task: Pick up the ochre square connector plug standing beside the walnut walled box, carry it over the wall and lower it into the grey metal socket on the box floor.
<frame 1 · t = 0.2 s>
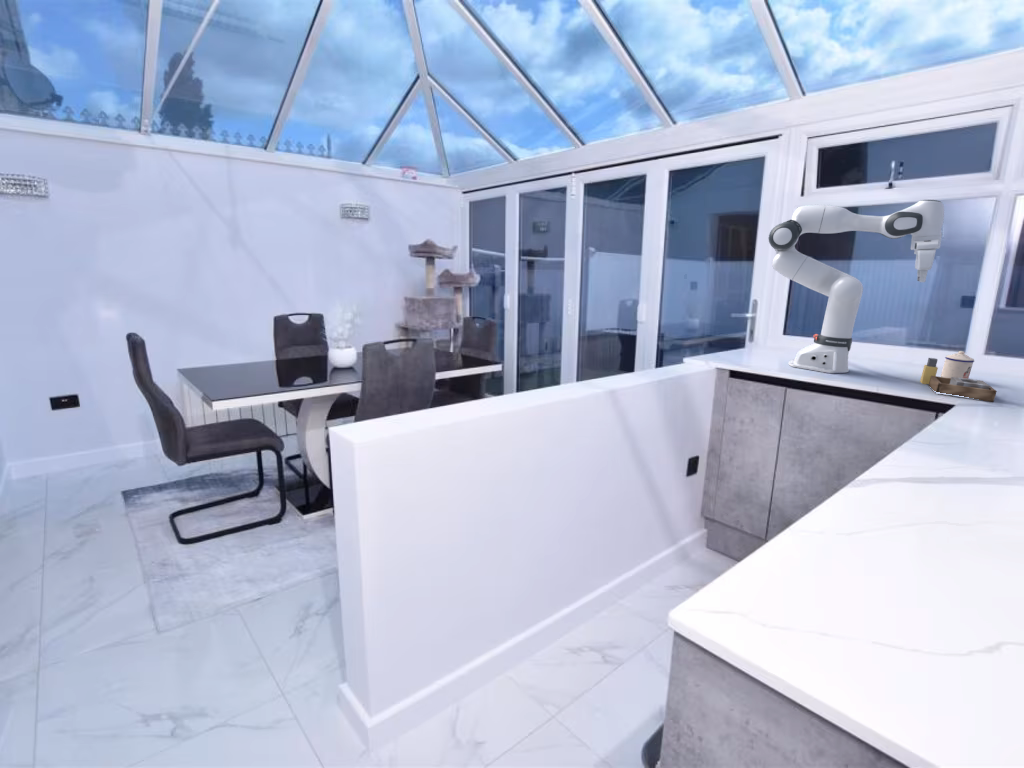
hand: (921, 281, 197), 38 cm above the worktop, tool pointing down, fingers open, 8 cm apart
connector: (926, 383, 201), on the worktop
walled box: (959, 393, 188), on the worktop
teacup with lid: (953, 379, 211), on the worktop
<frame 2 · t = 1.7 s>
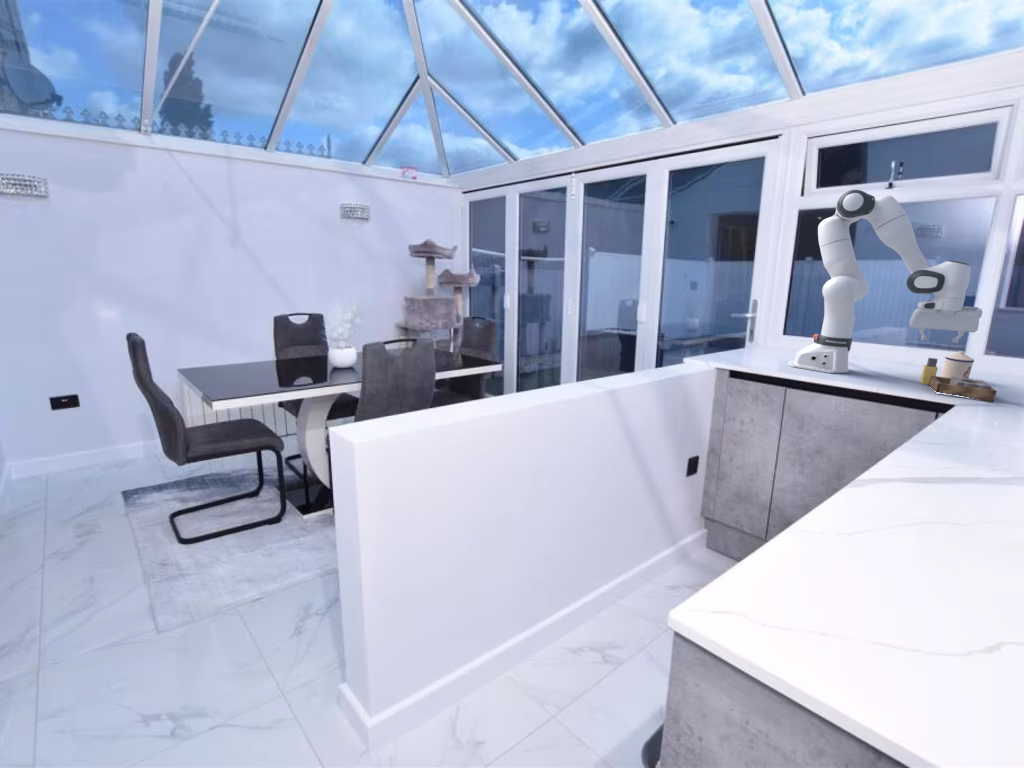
hand: (938, 341, 196), 17 cm above the worktop, tool pointing down, fingers open, 8 cm apart
nothing on the worktop moved.
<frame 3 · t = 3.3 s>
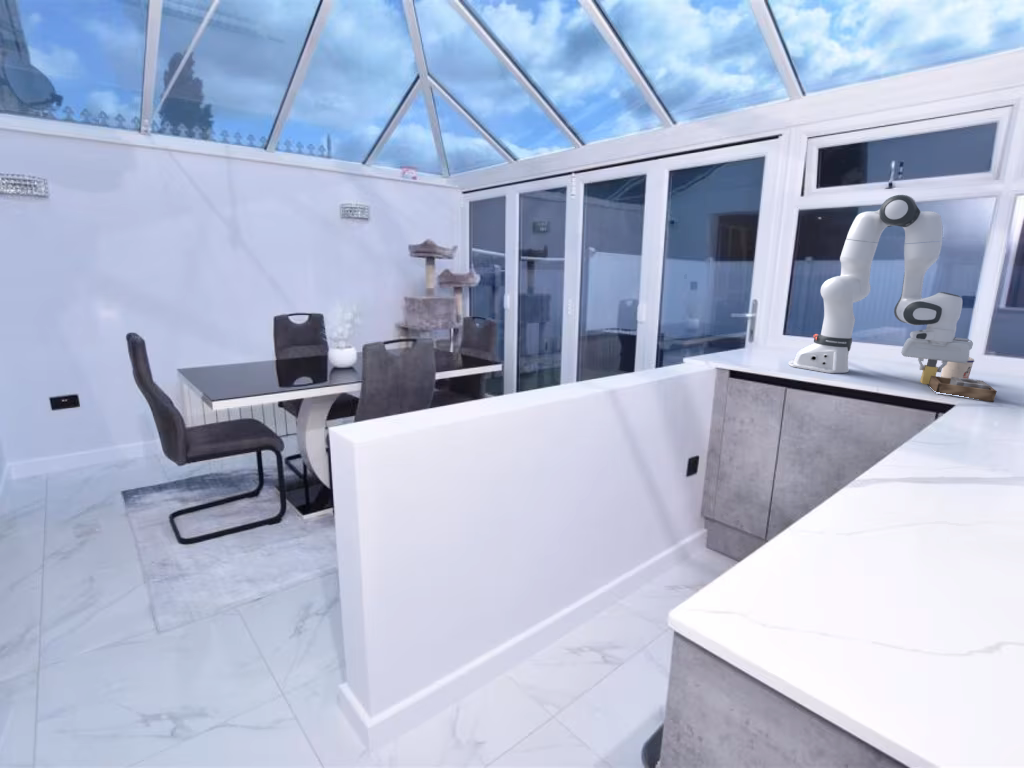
hand: (929, 370, 199), 5 cm above the worktop, tool pointing down, fingers closed on connector, 4 cm apart
connector: (926, 383, 201), on the worktop, touching gripper
everything else where it was.
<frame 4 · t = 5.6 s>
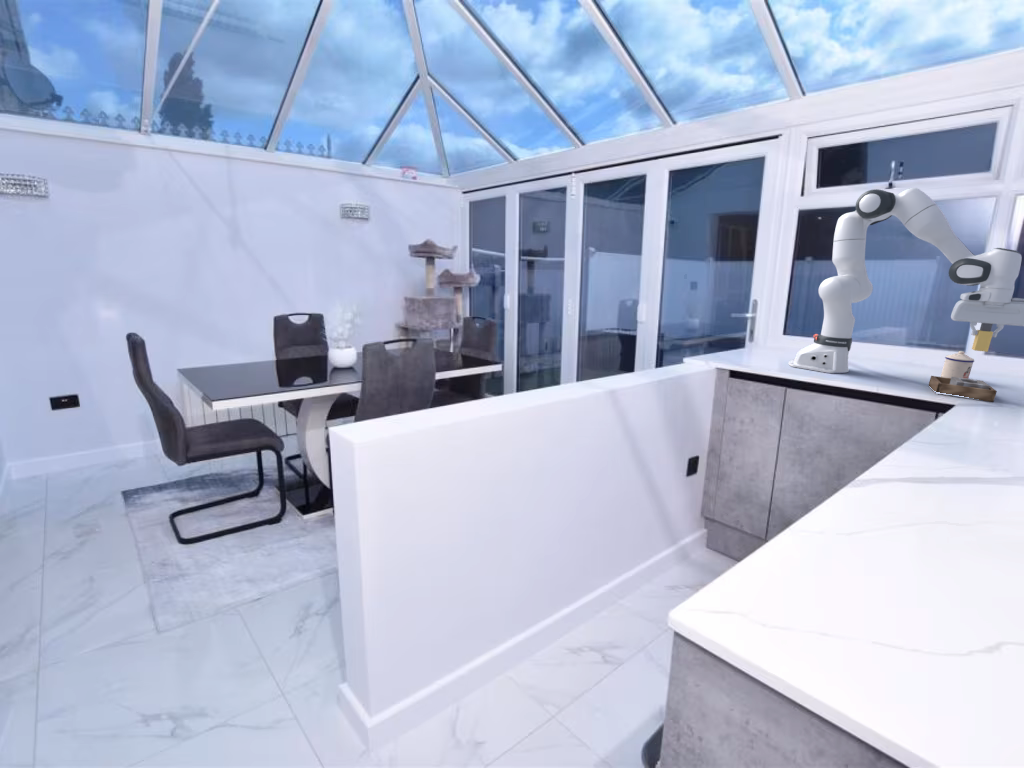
hand: (983, 336, 181), 22 cm above the worktop, tool pointing down, fingers closed on connector, 4 cm apart
connector: (979, 350, 183), point 16 cm above the worktop, touching gripper
everything else where it was.
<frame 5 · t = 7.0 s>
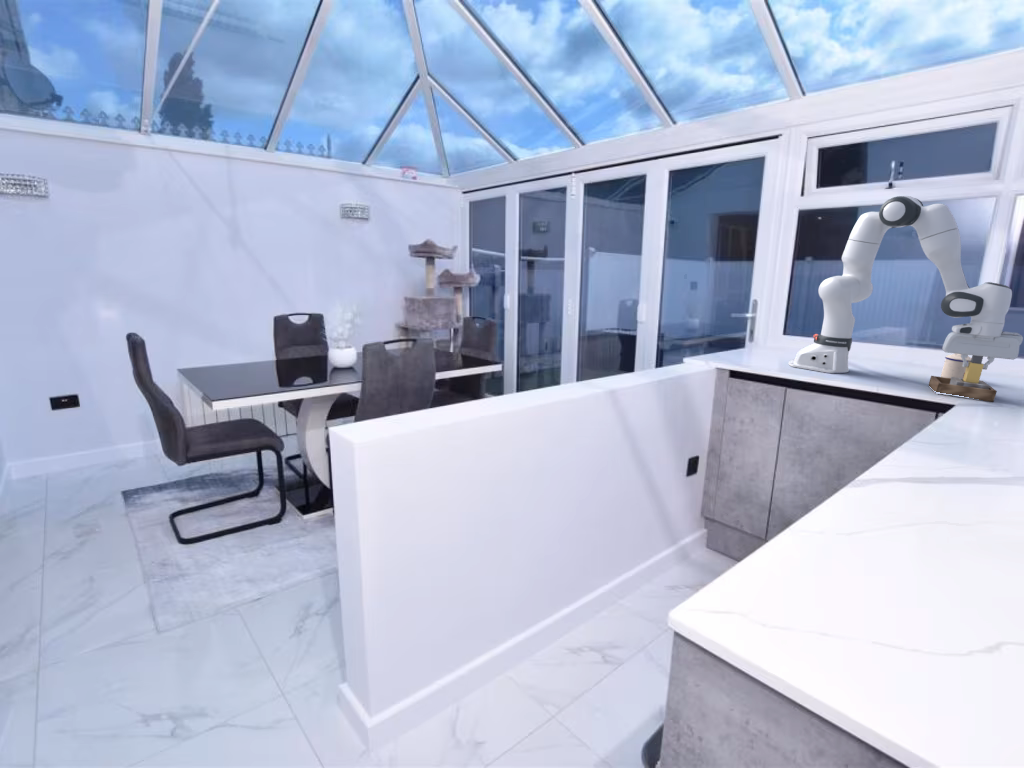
hand: (974, 368, 184), 10 cm above the worktop, tool pointing down, fingers closed on connector, 4 cm apart
connector: (970, 381, 185), point 5 cm above the worktop, touching gripper
everything else where it was.
when the fingers open (6 cm above the worktop, at t = 8.0 s): connector stays where it is, resting on walled box.
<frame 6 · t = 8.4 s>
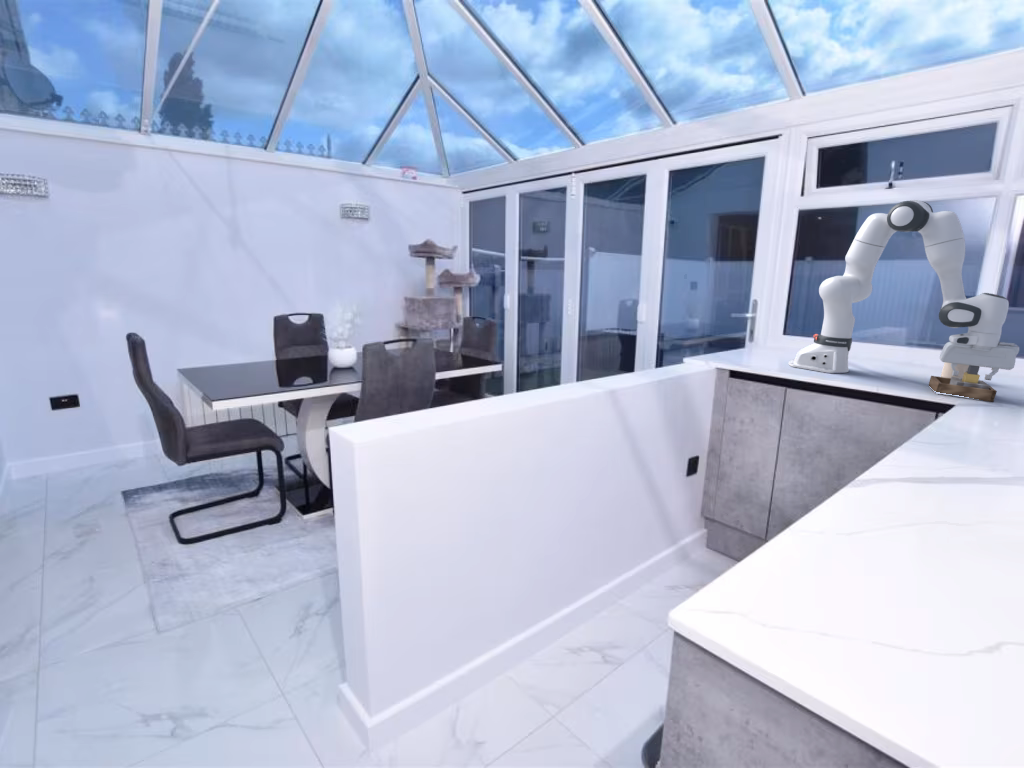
hand: (971, 377, 185), 6 cm above the worktop, tool pointing down, fingers open, 8 cm apart
connector: (966, 392, 187), point 1 cm above the worktop, touching walled box
everything else where it was.
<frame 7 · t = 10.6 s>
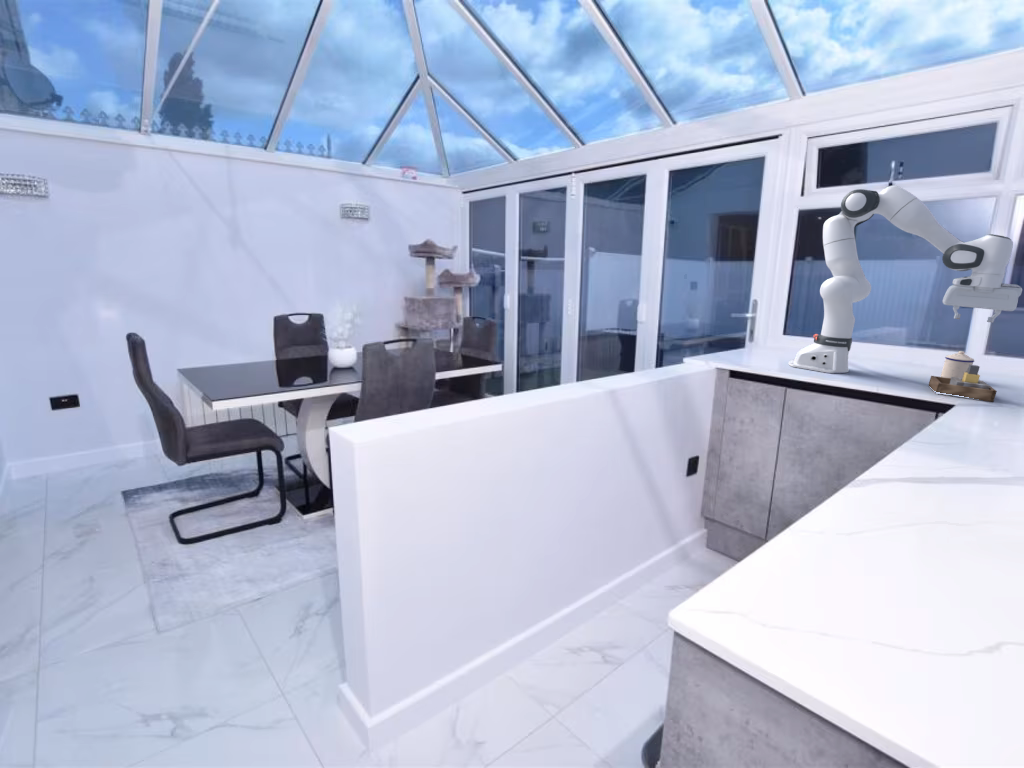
hand: (973, 320, 187), 26 cm above the worktop, tool pointing down, fingers open, 8 cm apart
nothing on the worktop moved.
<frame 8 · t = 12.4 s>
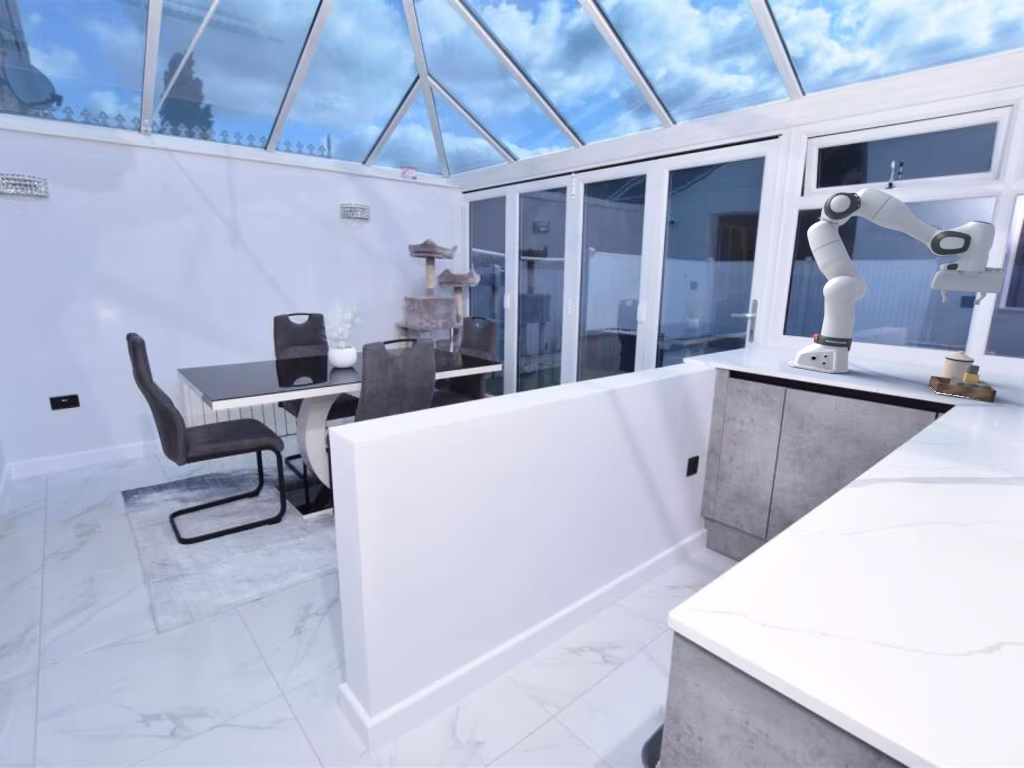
hand: (960, 303, 196), 31 cm above the worktop, tool pointing down, fingers open, 8 cm apart
nothing on the worktop moved.
at the end: connector 0.1 cm from the target spot on the walled box, point 0.8 cm above the walled box's base; connector tilted 0°; the gripper is holding nothing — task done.
